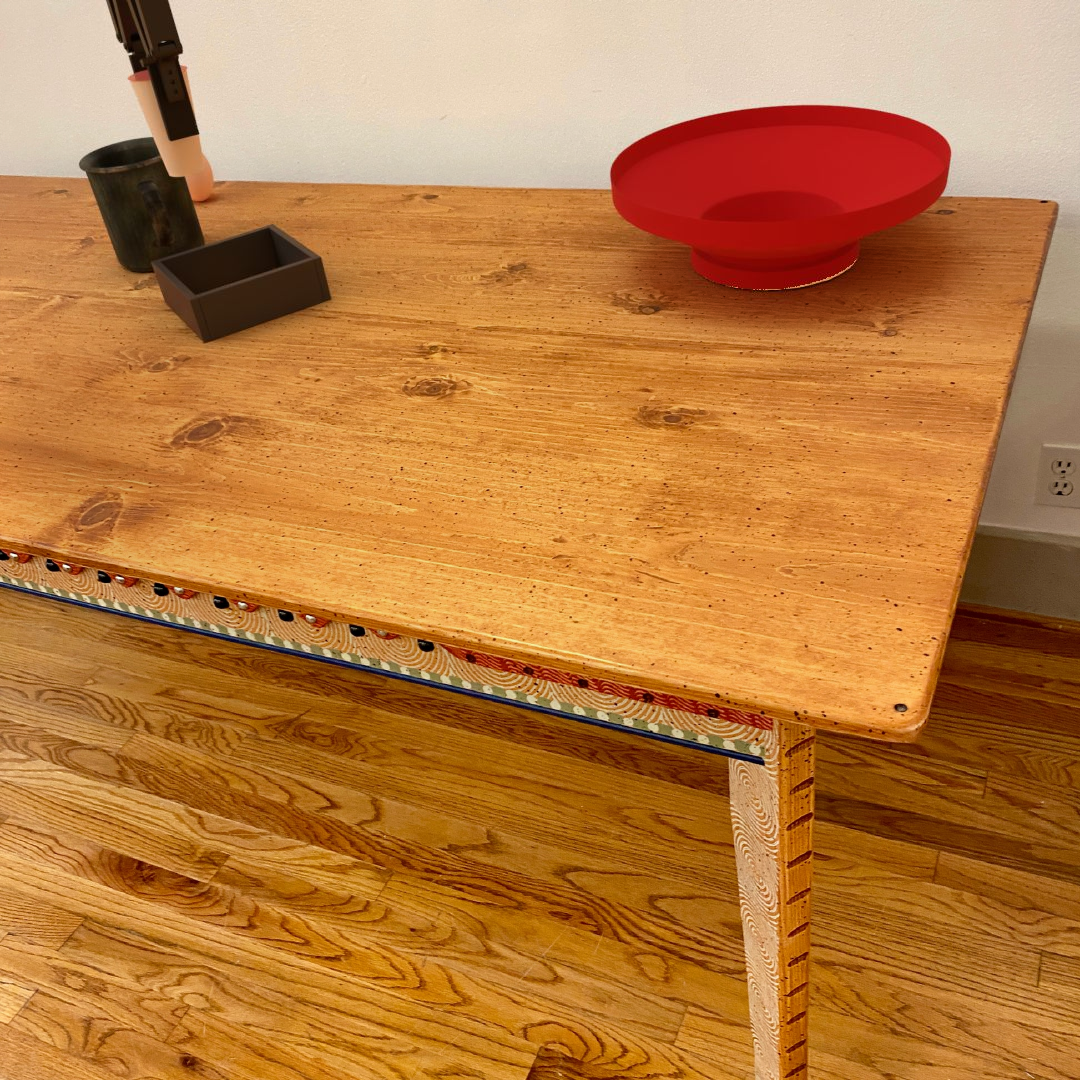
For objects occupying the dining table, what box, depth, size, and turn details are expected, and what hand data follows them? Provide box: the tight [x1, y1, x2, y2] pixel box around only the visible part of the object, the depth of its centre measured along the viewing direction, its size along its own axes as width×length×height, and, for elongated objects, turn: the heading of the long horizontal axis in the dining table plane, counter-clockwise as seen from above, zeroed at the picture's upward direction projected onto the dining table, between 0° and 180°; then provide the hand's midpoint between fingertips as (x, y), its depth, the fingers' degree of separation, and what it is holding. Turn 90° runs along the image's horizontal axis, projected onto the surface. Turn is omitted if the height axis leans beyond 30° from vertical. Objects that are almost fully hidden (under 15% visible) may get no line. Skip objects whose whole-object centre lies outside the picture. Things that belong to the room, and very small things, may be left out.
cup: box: [127, 64, 205, 177], centre depth 100 cm, size 5×5×12 cm
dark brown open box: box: [151, 223, 332, 344], centre depth 111 cm, size 14×14×4 cm
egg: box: [185, 152, 215, 202], centre depth 140 cm, size 5×5×7 cm
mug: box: [78, 136, 206, 272], centre depth 122 cm, size 11×15×12 cm
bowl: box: [609, 104, 952, 291], centre depth 103 cm, size 30×30×10 cm
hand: (174, 130), depth 102 cm, fingers closed on cup, 5 cm apart
